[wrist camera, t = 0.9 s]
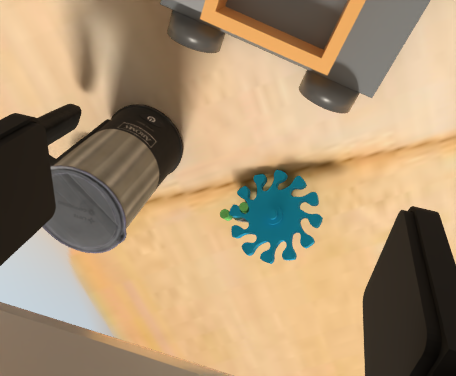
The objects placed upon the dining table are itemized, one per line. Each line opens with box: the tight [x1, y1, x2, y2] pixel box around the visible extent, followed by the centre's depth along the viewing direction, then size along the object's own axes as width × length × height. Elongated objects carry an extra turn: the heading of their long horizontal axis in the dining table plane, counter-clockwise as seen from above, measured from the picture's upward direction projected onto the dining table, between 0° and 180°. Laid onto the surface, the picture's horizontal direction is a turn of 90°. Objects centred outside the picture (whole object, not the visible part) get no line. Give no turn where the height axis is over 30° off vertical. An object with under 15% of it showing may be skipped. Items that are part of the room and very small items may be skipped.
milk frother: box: [37, 104, 183, 253], centre depth 43 cm, size 14×16×15 cm
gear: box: [220, 170, 323, 264], centre depth 45 cm, size 11×6×10 cm
